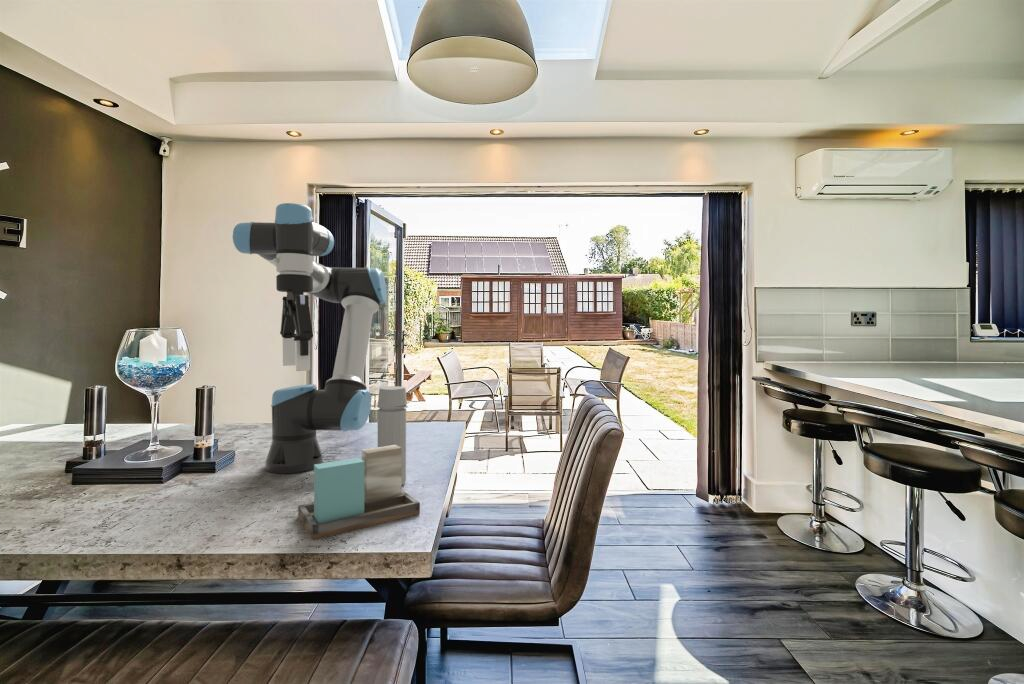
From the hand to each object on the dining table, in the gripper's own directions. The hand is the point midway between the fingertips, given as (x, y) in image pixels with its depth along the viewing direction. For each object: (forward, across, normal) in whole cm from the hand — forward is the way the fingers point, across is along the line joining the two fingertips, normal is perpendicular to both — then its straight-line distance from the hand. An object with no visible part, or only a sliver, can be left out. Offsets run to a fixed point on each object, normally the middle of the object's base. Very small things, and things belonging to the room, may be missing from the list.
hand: (296, 368), depth 107 cm
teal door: (+30, +19, +4) cm, 36 cm away
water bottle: (+31, 0, +23) cm, 39 cm away
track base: (+31, +16, +9) cm, 36 cm away
